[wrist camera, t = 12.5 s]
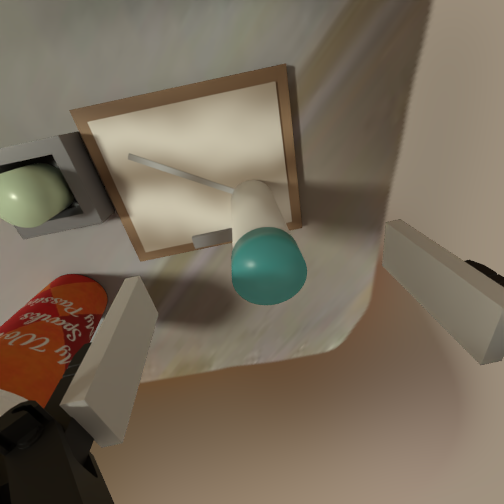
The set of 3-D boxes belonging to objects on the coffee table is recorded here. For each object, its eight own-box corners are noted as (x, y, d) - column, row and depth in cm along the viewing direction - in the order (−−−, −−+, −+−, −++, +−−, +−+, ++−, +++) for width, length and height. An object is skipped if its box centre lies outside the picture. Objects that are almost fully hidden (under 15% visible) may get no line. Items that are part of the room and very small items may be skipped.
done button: (9, 168, 21) (-30, 180, 18) (58, 158, 21) (28, 168, 18) (38, 214, 23) (8, 232, 20) (83, 205, 23) (60, 221, 20)
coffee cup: (130, 287, 30) (58, 430, 17) (101, 332, 33) (19, 485, 20) (51, 250, 27) (-114, 390, 14) (26, 304, 30) (-130, 462, 17)
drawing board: (74, 110, 21) (64, 110, 20) (283, 64, 21) (287, 62, 20) (142, 257, 28) (138, 265, 27) (300, 224, 28) (304, 230, 27)
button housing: (-5, 149, 22) (-35, 155, 19) (77, 131, 22) (58, 135, 19) (43, 225, 25) (23, 239, 23) (115, 210, 25) (102, 222, 23)
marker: (225, 183, 24) (224, 252, 14) (271, 174, 24) (304, 237, 14) (234, 224, 26) (239, 310, 16) (276, 217, 26) (308, 298, 16)
